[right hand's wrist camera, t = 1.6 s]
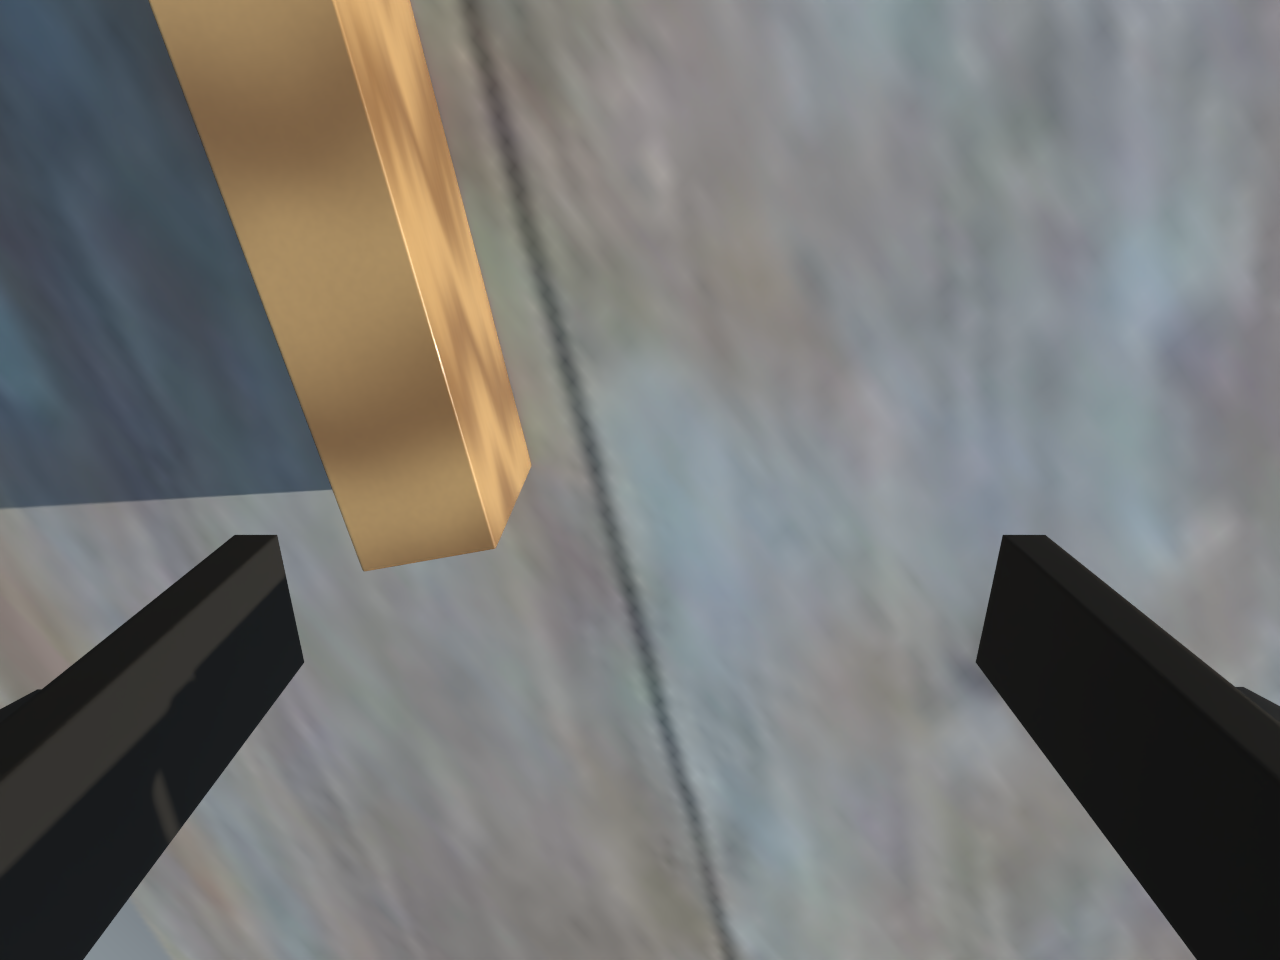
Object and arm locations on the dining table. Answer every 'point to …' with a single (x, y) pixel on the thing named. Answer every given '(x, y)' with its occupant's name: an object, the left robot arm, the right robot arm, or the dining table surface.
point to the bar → (359, 260)
